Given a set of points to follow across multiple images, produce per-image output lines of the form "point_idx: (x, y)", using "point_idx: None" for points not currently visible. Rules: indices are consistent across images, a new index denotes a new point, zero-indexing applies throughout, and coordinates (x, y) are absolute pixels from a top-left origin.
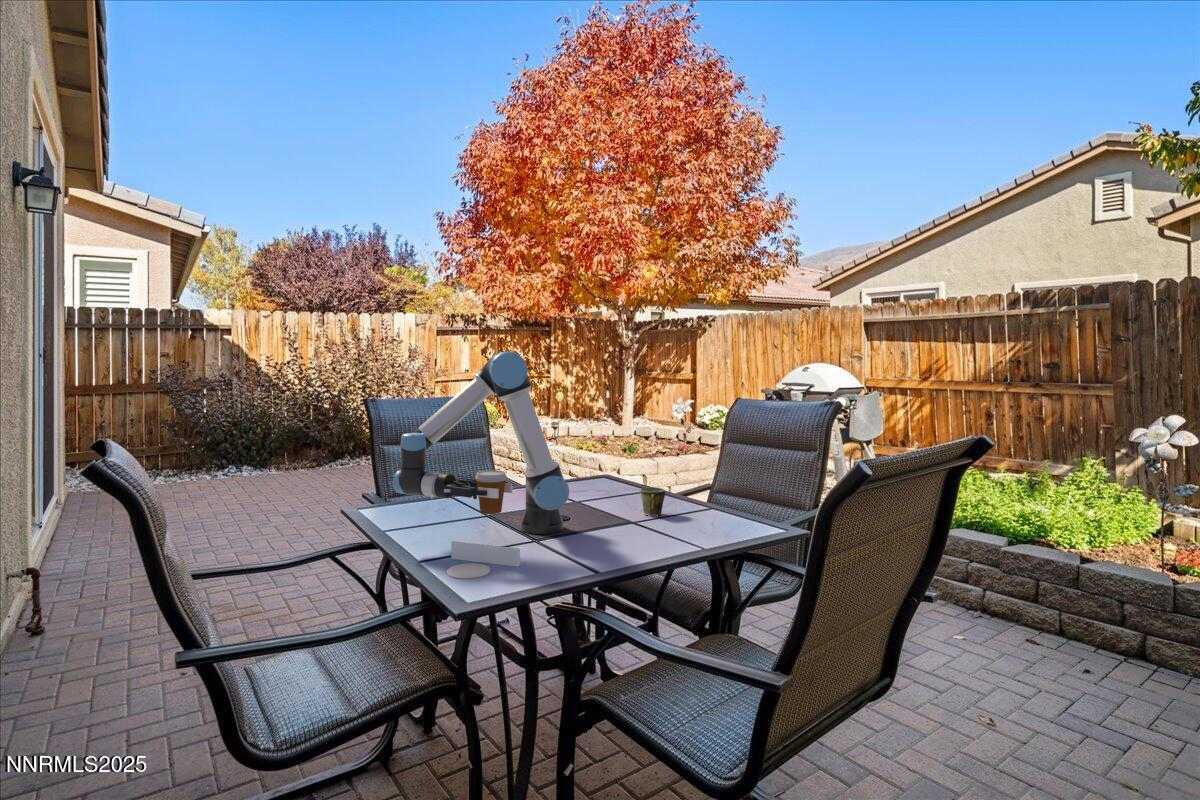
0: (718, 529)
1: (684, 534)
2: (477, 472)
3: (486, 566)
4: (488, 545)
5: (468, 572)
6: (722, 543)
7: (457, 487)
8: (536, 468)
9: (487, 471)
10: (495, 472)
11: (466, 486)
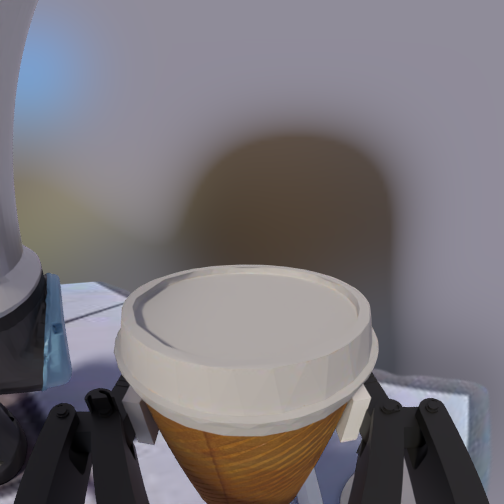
0: (62, 295)
1: (72, 310)
2: (302, 358)
3: (348, 486)
4: (311, 494)
5: (405, 483)
6: (112, 294)
7: (472, 493)
8: (15, 267)
9: (144, 339)
10: (170, 304)
11: (390, 490)
